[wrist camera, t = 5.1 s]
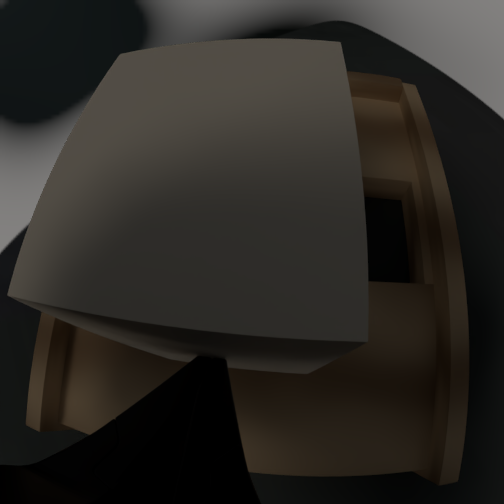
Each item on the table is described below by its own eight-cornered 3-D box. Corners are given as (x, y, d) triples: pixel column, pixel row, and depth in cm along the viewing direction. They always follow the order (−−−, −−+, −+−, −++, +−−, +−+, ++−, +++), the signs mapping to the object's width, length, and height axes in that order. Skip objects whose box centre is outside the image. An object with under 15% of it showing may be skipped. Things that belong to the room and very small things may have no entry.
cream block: (307, 374, 13) (367, 341, 4) (171, 359, 14) (7, 295, 5) (314, 227, 16) (340, 41, 7) (195, 220, 16) (120, 54, 7)
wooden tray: (426, 467, 12) (457, 481, 9) (64, 423, 14) (25, 424, 11) (402, 115, 21) (413, 81, 18) (148, 109, 24) (134, 76, 20)
